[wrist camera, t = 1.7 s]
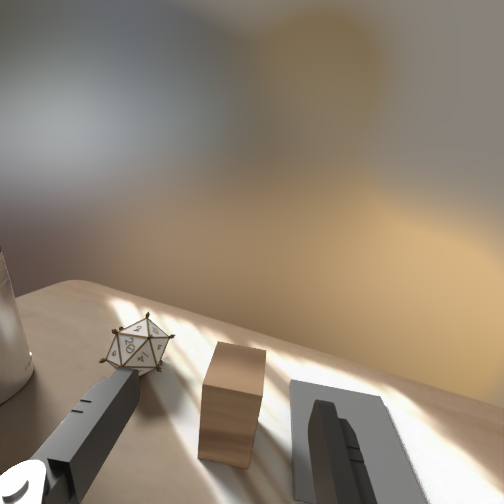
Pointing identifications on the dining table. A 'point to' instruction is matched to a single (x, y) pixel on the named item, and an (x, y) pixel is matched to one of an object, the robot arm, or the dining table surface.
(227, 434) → the walnut block
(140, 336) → the game die
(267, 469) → the dining table surface
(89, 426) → the robot arm
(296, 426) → the rubber mat
